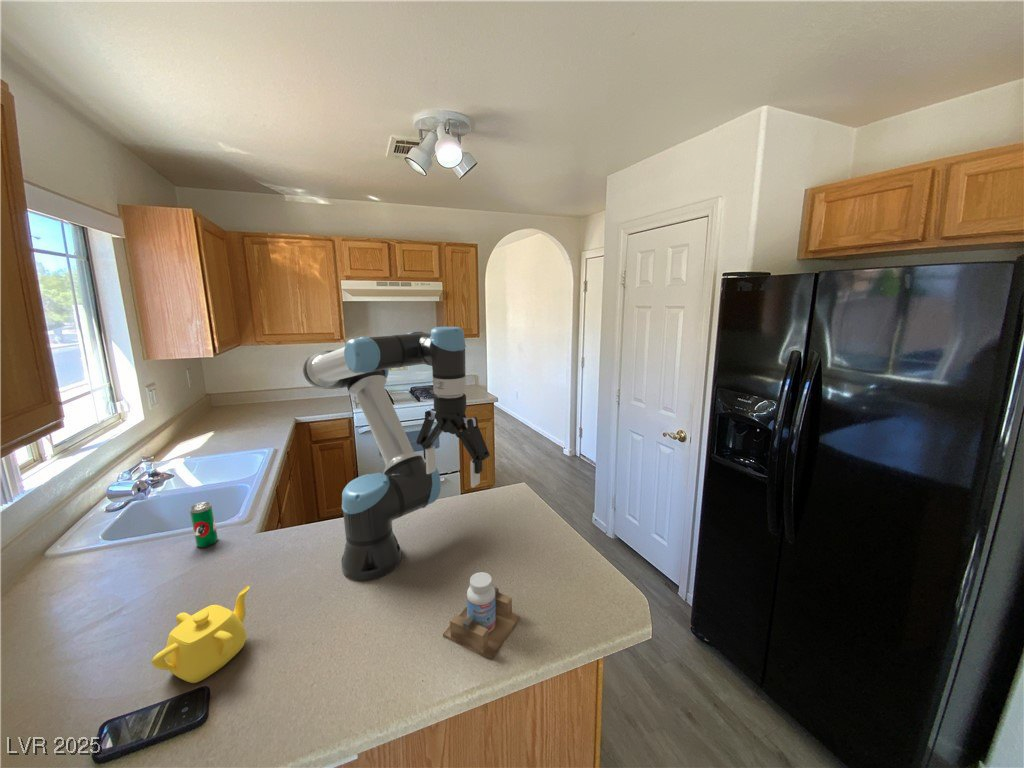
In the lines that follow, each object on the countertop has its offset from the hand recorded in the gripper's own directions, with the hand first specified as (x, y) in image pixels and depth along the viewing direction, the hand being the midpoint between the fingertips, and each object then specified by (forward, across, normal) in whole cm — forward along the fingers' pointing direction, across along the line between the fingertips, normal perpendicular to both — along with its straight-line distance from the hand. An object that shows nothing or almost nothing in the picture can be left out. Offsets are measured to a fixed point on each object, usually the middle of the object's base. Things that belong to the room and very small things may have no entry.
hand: (452, 478), depth 99 cm
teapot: (+27, -26, -44) cm, 58 cm away
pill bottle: (+26, +16, -11) cm, 32 cm away
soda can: (+28, -71, -26) cm, 80 cm away
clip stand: (+26, +16, -11) cm, 33 cm away
